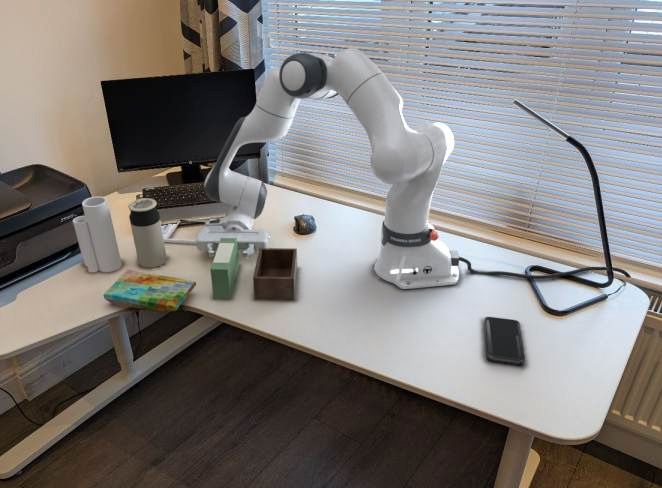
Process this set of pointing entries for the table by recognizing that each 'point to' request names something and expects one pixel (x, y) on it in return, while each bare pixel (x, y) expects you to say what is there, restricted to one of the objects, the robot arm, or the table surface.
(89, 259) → the vase
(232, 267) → the tea packet
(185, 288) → the puzzle game
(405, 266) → the robot arm
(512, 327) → the phone
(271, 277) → the box
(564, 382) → the table surface
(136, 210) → the travel mug
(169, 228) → the photo frame
